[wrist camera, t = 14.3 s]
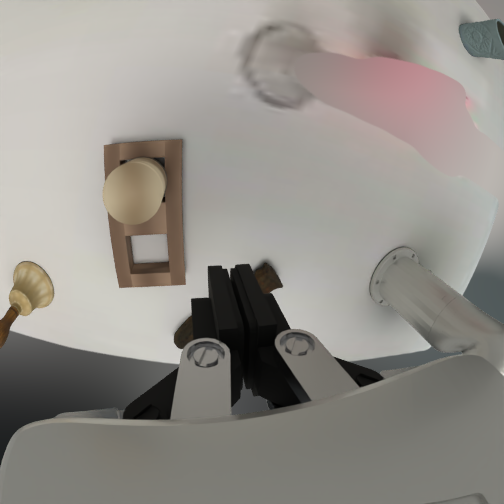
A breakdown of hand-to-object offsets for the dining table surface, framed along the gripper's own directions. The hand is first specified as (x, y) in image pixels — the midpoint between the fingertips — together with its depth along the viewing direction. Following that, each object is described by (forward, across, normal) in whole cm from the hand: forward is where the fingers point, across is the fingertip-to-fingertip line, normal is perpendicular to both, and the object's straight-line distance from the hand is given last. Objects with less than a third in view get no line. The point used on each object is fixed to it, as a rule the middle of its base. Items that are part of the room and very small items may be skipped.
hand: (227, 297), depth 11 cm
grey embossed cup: (+26, -55, -41) cm, 73 cm away
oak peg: (+24, +7, -2) cm, 25 cm away
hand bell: (+24, +28, +13) cm, 39 cm away
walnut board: (+24, +7, +3) cm, 25 cm away
